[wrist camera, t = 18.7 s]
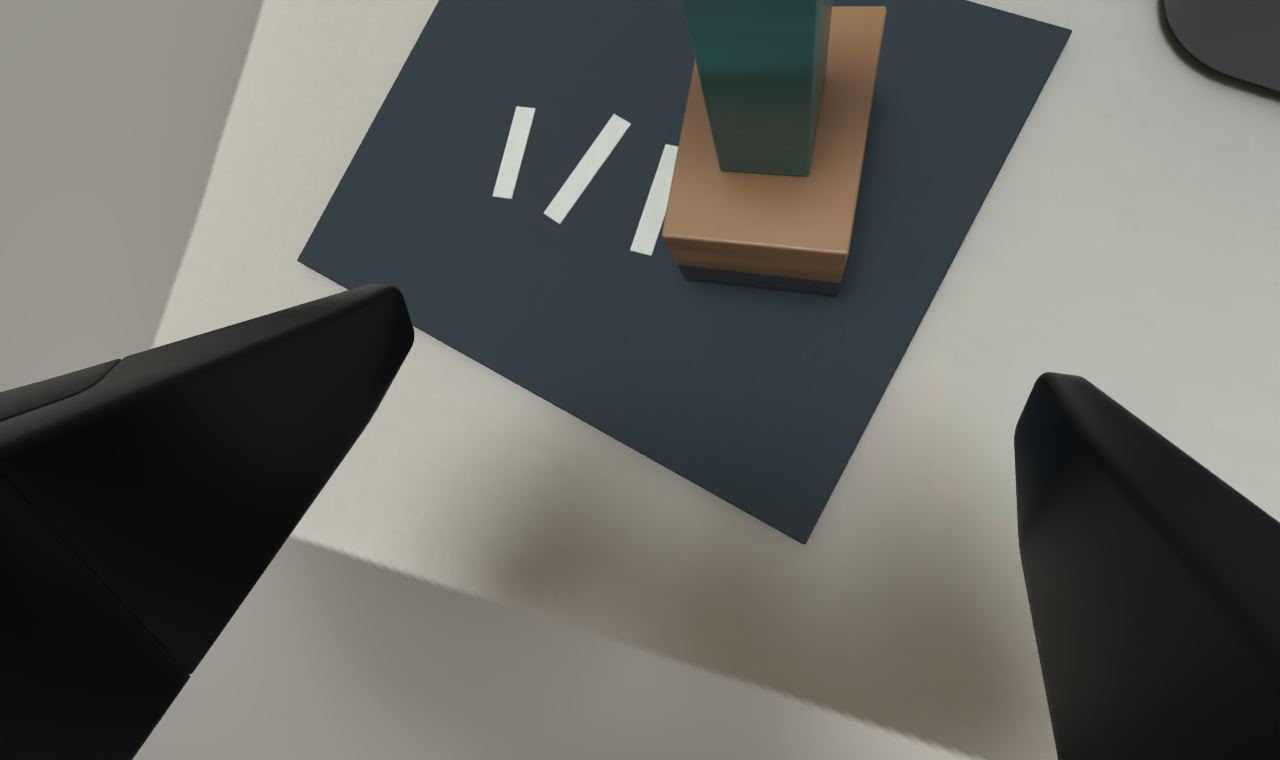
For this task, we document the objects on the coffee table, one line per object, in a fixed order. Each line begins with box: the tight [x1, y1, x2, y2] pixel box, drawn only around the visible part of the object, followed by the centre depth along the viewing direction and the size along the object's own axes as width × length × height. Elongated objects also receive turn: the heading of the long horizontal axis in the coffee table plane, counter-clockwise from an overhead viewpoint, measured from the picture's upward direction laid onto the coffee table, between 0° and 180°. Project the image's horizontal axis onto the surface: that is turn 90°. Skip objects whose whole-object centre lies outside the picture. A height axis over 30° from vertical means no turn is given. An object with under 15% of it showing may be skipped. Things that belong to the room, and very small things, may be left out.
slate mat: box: [298, 0, 1072, 544], centre depth 22 cm, size 18×22×1 cm
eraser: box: [662, 0, 887, 297], centre depth 15 cm, size 7×5×13 cm
